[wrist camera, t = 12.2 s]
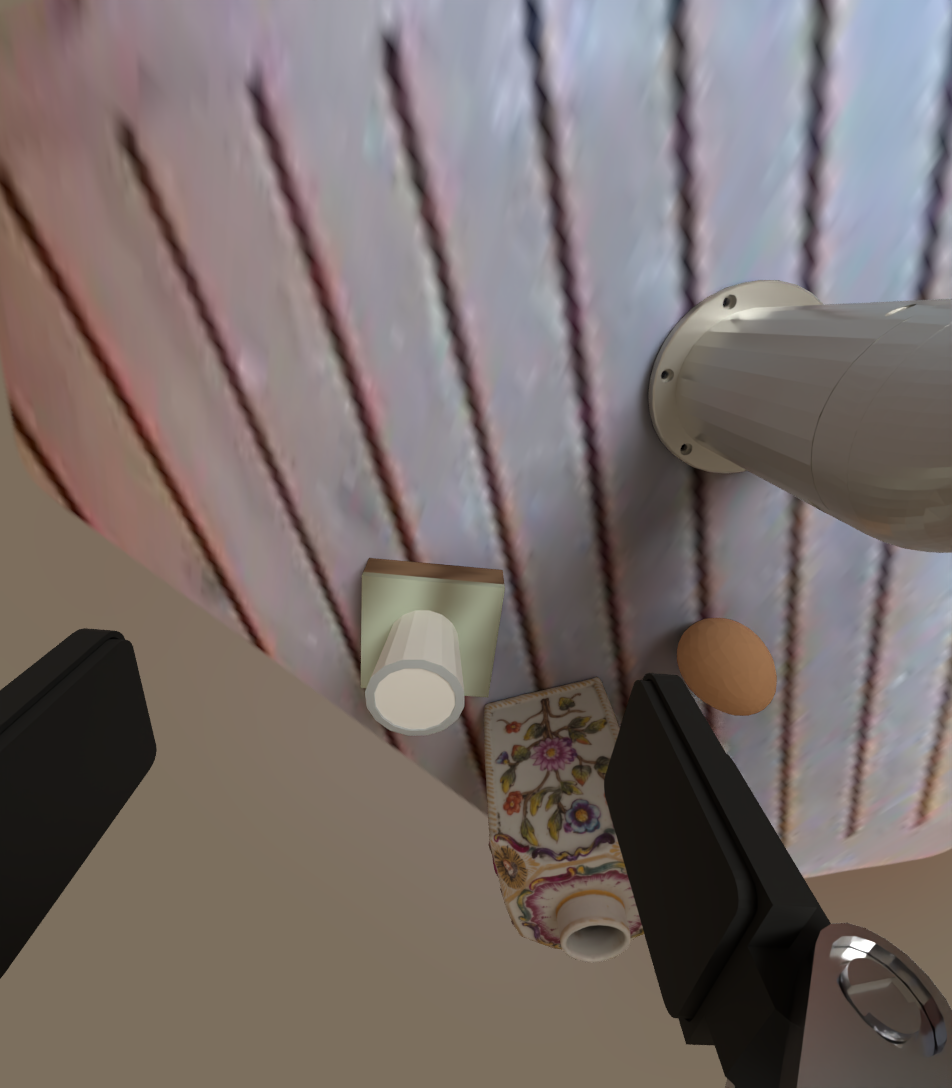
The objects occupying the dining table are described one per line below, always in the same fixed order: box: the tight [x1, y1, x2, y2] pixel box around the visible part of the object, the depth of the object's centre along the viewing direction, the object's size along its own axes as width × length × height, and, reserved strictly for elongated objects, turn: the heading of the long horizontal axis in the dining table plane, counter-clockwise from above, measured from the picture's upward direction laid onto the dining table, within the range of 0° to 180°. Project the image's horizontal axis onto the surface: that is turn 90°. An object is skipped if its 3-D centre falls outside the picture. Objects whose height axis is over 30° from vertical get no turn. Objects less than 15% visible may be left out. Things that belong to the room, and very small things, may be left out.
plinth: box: [361, 558, 505, 697], centre depth 41 cm, size 11×11×3 cm
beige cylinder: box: [365, 610, 464, 736], centre depth 36 cm, size 7×7×7 cm
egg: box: [677, 618, 777, 716], centre depth 39 cm, size 7×7×9 cm
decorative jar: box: [484, 677, 644, 962], centre depth 40 cm, size 12×12×18 cm
